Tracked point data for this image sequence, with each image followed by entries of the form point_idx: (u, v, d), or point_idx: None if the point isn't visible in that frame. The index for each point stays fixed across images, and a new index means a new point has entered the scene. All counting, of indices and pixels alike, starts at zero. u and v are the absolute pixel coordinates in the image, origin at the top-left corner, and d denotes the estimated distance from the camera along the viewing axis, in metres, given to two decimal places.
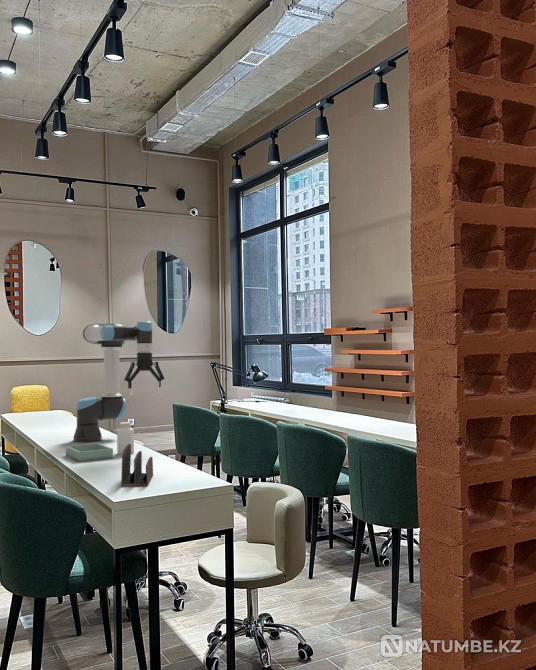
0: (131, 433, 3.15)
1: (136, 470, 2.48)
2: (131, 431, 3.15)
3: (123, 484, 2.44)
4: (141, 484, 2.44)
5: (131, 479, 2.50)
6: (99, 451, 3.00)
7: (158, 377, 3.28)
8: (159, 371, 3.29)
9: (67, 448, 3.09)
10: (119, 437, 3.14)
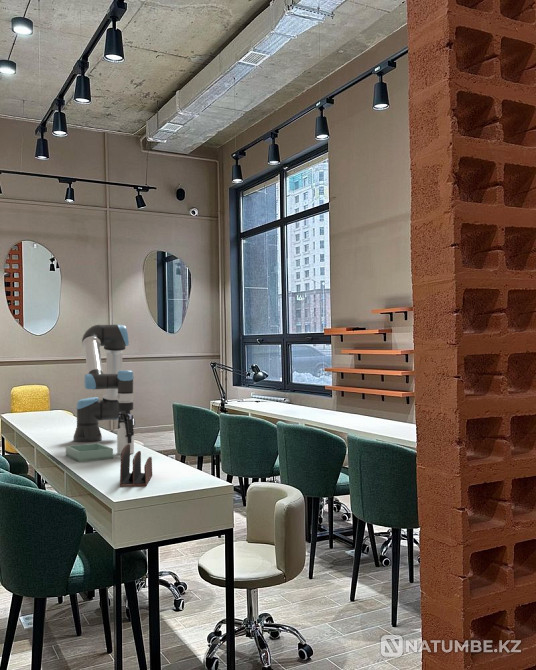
0: None
1: (135, 470, 2.48)
2: None
3: (122, 484, 2.44)
4: (140, 484, 2.44)
5: (130, 479, 2.50)
6: (99, 451, 3.00)
7: (126, 432, 3.12)
8: (127, 425, 3.11)
9: (67, 448, 3.09)
10: (119, 437, 3.14)
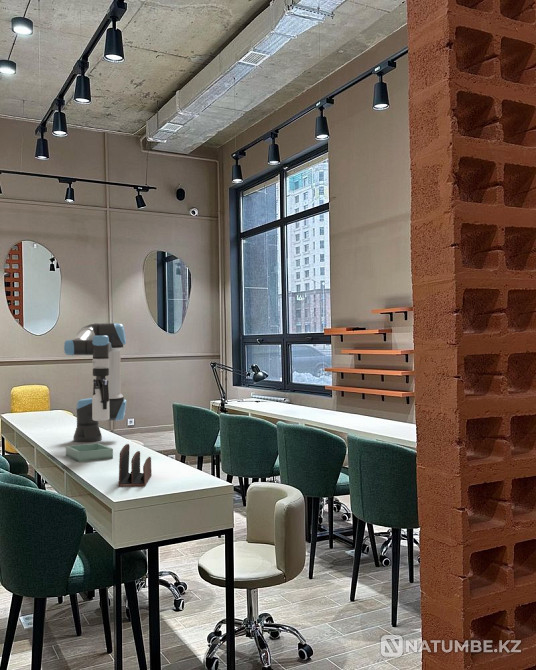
0: None
1: (134, 470, 2.48)
2: None
3: (120, 484, 2.44)
4: (138, 484, 2.44)
5: (129, 479, 2.50)
6: (99, 451, 3.00)
7: (101, 398, 3.06)
8: (102, 391, 3.05)
9: (67, 448, 3.09)
10: (94, 403, 3.07)
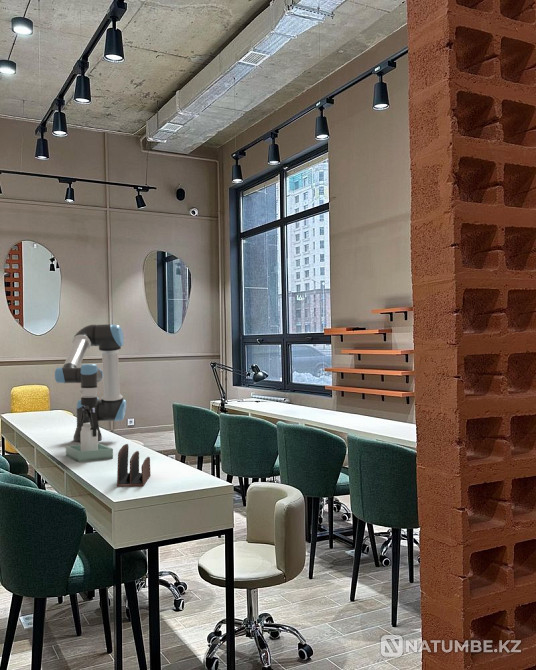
0: None
1: (132, 470, 2.48)
2: None
3: (119, 484, 2.44)
4: (137, 484, 2.44)
5: (127, 479, 2.50)
6: (99, 451, 3.00)
7: (91, 425, 3.01)
8: (91, 419, 3.00)
9: (67, 448, 3.09)
10: (82, 438, 3.04)
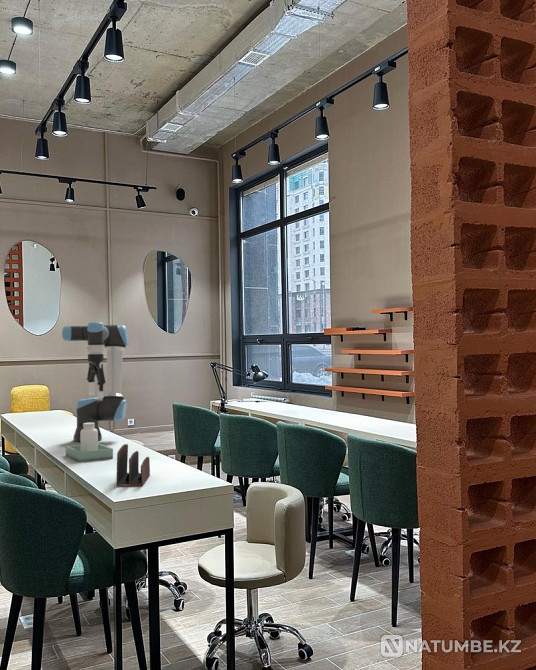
0: (95, 434, 3.05)
1: (131, 470, 2.48)
2: (95, 432, 3.05)
3: (118, 484, 2.44)
4: (136, 484, 2.44)
5: (127, 479, 2.50)
6: (99, 451, 3.00)
7: (98, 380, 3.14)
8: (98, 374, 3.13)
9: (67, 448, 3.09)
10: (82, 438, 3.04)
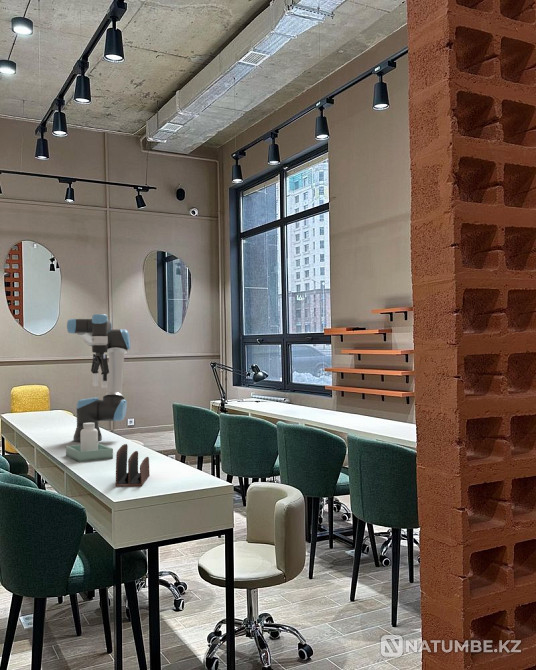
0: (95, 434, 3.05)
1: (131, 470, 2.48)
2: (95, 432, 3.05)
3: (117, 484, 2.44)
4: (135, 484, 2.44)
5: (126, 479, 2.50)
6: (99, 451, 3.00)
7: (102, 370, 3.21)
8: (102, 364, 3.21)
9: (67, 448, 3.09)
10: (82, 438, 3.04)
